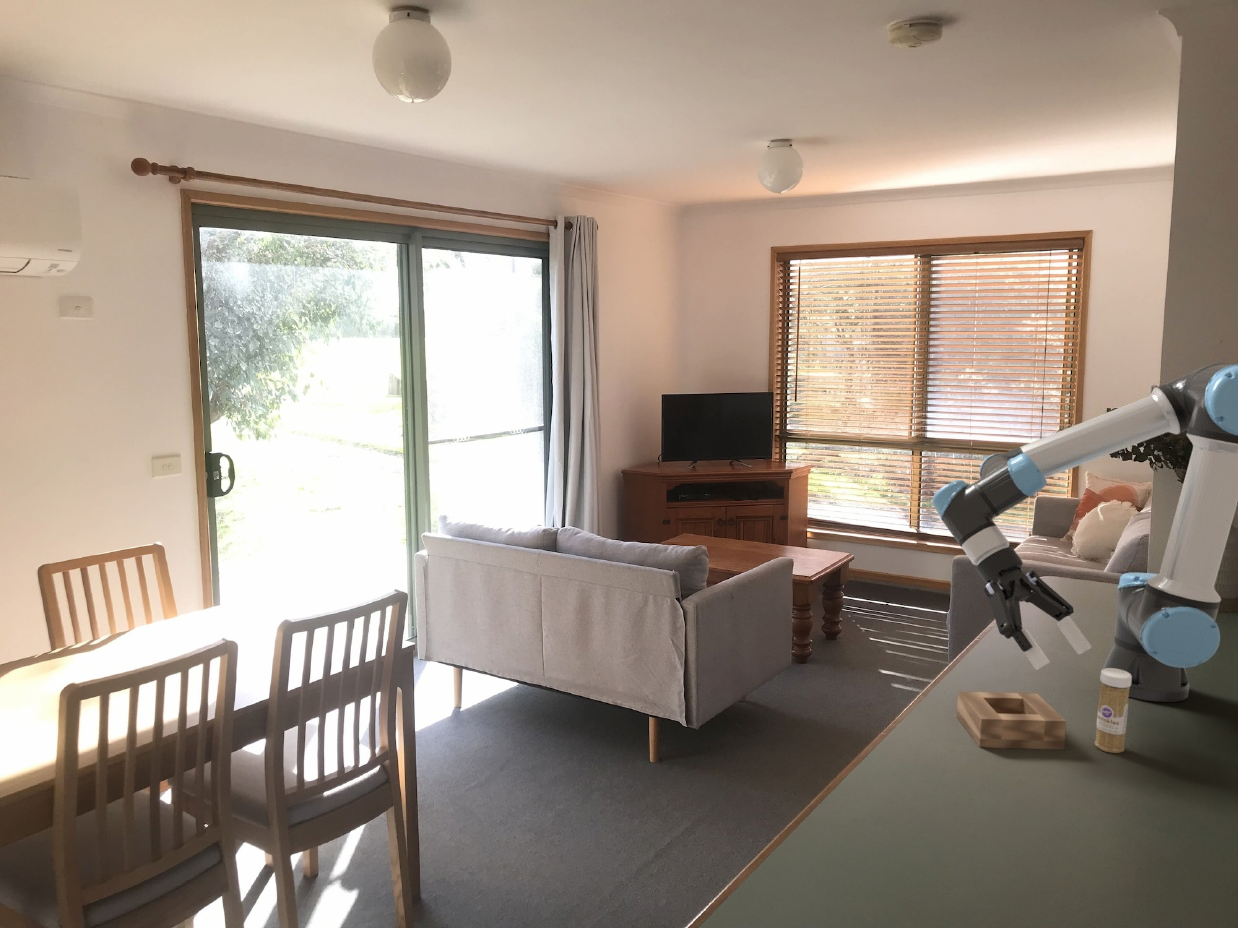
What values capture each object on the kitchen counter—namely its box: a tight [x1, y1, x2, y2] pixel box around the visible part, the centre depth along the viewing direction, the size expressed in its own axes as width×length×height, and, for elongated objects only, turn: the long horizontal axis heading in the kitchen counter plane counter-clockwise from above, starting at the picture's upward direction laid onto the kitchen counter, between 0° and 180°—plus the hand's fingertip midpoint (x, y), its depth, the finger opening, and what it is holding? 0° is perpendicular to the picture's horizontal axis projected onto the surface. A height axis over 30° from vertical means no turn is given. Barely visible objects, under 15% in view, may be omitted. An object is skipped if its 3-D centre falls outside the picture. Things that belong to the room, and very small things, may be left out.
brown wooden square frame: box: [956, 691, 1067, 750], centre depth 160 cm, size 14×12×5 cm
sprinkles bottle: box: [1094, 668, 1132, 754], centre depth 154 cm, size 5×5×14 cm
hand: (1064, 658), depth 159 cm, fingers open, 13 cm apart
